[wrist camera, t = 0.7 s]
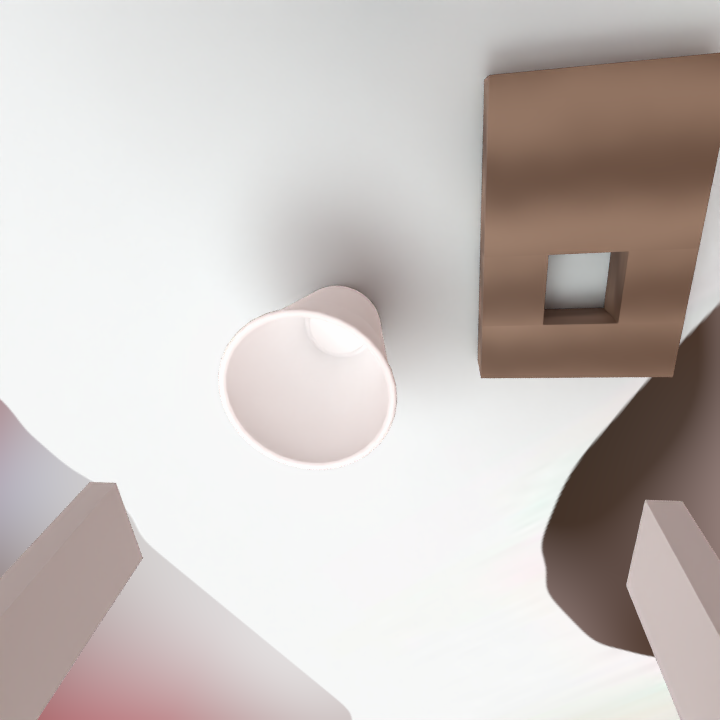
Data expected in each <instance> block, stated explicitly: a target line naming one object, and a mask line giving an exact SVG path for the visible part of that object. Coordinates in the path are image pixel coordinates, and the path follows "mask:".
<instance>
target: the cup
mask: <svg viewBox="0 0 720 720" xmlns="http://www.w3.org/2000/svg"><path fill="white" fill-rule="evenodd" d="M218 378H219V393H220V397H221V401H222V405H223V407H224V409H225V412H226V414H227V416H228V418H229V420H230V421H231V423H232V424H233V426H234V427H235V429H236V430H237V431H238V433H239V434H240V435H241V436H242V437H243V438H244V439H245V440H246V441H247V442H248V443H249V444H250V445H251V446H253V447H254V448H256V449H257V450H258V451H260V452H261V453H262V454H264V455H266V456H268V457H270V458H272V459H274V460H276V461H278V462H281V463H284V464H287V465H290V466H293V467H298V468H304V469H331V468H337V467H342V466H345V465H348V464H351V463H353V462H356V461H358V460H359V459H361V458H363V457H364V456H366V455H368V454H369V453H370V452H371V451H372V450H374V449H375V448H376V447H377V446H378V445H379V444H380V443H381V442H382V440H383V439H384V437H385V436H386V434H387V433H388V431H389V429H390V427H391V424H392V422H393V419H394V417H395V411H396V404H397V393H396V383H395V380H394V377H393V373H392V370H391V367H390V365H389V364H388V361H387V356H386V351H385V345H384V339H383V334H382V328H381V322H380V318H379V315H378V312H377V310H376V308H375V306H374V305H373V304H372V303H371V301H370V300H369V299H368V298H367V297H366V296H364V295H363V294H362V293H360V292H358V291H357V290H355V289H352V288H349V287H345V286H328V287H324V288H321V289H319V290H317V291H315V292H313V293H311V294H309V295H307V296H306V297H304V298H302V299H300V300H298V301H296V302H294V303H293V304H291V305H289V306H287V307H285V308H283V309H281V310H277V311H273V312H269V313H266V314H264V315H262V316H260V317H258V318H256V319H254V320H252V321H250V322H249V323H247V324H246V325H245V326H244V327H243V328H241V329H240V330H239V331H238V332H237V333H236V334H235V336H234V337H233V338H232V339H231V341H230V342H229V343H228V345H227V347H226V349H225V352H224V354H223V356H222V358H221V363H220V368H219V373H218Z"/></svg>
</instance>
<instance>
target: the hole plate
mask: <svg viewBox="0 0 720 720" xmlns="http://www.w3.org/2000/svg"><path fill="white" fill-rule="evenodd" d="M719 147H720V53H712V54H702V55H692V56H681V57H671V58H661V59H651V60H640V61H630V62H620V63H609V64H599V65H589V66H578V67H568V68H558V69H547V70H537V71H527V72H516V73H506V74H496V75H489V76H488V77H487V78H486V79H485V80H484V114H483V156H482V198H481V240H480V282H479V324H478V364H479V370H480V375H481V378H580V377H673V373H674V368H675V363H676V358H677V353H678V348H679V343H680V339H681V334H682V329H683V324H684V319H685V314H686V309H687V304H688V299H689V294H690V290H691V285H692V280H693V275H694V270H695V265H696V260H697V255H698V250H699V245H700V240H701V236H702V231H703V226H704V221H705V216H706V211H707V206H708V201H709V196H710V191H711V186H712V182H713V177H714V172H715V167H716V162H717V157H718V152H719ZM602 252H611V257H610V264H609V272H608V280H607V287H606V295H605V302H604V308H577V309H544V305H545V292H546V280H547V268H548V255H555V254H579V253H602Z"/></svg>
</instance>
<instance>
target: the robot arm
mask: <svg viewBox="0 0 720 720" xmlns="http://www.w3.org/2000/svg"><path fill="white" fill-rule="evenodd" d="M142 559H143V557H142V555H141V552H140V549H139V546H138V543H137V541H136V538H135V535H134V532H133V529H132V527H131V524H130V521H129V518H128V515H127V513H126V510H125V507H124V504H123V502H122V499H121V496H120V493H119V490H118V488H117V485H116V483H101V482H89V484H88V485H87V486H86V487H85V488H84V489H83V490H82V491H81V492H80V493H79V494H78V495H77V496H76V497H75V499H74V500H73V501H72V502H71V503H70V504H69V505H68V506H67V507H66V508H65V509H64V510H63V511H62V512H61V513H60V515H59V516H58V517H57V518H56V519H55V520H54V521H53V522H52V523H51V524H50V525H49V526H48V527H47V528H46V530H45V531H44V532H43V533H42V534H41V535H40V536H39V537H38V538H37V539H36V540H35V541H34V542H33V543H32V545H31V546H30V547H29V548H28V549H27V550H26V551H25V552H24V553H23V554H22V555H21V556H20V558H18V560H17V561H16V562H15V563H14V564H13V565H12V566H11V567H10V568H9V569H8V570H7V571H6V572H5V574H4V575H3V576H2V577H1V578H0V720H37V719H38V717H39V716H40V714H41V713H42V711H43V710H44V708H45V707H46V705H47V704H48V702H49V701H50V699H51V698H52V696H53V695H54V693H55V692H56V690H57V689H58V687H59V685H60V684H61V682H62V681H63V679H64V678H65V676H66V675H67V673H68V672H69V670H70V669H71V667H72V666H73V664H74V663H75V661H76V660H77V658H78V656H79V655H80V653H81V652H82V650H83V649H84V647H85V646H86V644H87V643H88V641H89V640H90V638H91V637H92V635H93V634H94V632H95V630H96V629H97V627H98V626H99V624H100V623H101V621H102V620H103V618H104V617H105V615H106V614H107V612H108V611H109V609H110V608H111V606H112V605H113V603H114V602H115V600H116V598H117V597H118V595H119V594H120V592H121V591H122V589H123V588H124V586H125V585H126V583H127V582H128V580H129V579H130V577H131V576H132V574H133V572H134V571H135V569H136V568H137V566H138V565H139V563H140V562H141V560H142ZM626 586H627V589H628V591H629V594H630V596H631V598H632V601H633V603H634V606H635V608H636V611H637V613H638V616H639V618H640V621H641V623H642V625H643V628H644V631H645V633H646V636H647V638H648V640H649V643H650V645H651V648H652V650H653V653H654V655H655V658H656V660H657V663H658V665H659V668H660V670H661V673H662V675H663V677H664V680H665V682H666V685H667V687H668V690H669V692H670V695H671V697H672V700H673V702H674V705H675V707H676V710H677V712H678V715H679V717H680V719H681V720H720V560H719V559H718V557H717V555H716V554H715V552H714V551H713V549H712V547H711V546H710V544H709V543H708V541H707V540H706V538H705V537H704V535H703V533H702V532H701V530H700V529H699V527H698V526H697V524H696V522H695V521H694V519H693V518H692V516H691V515H690V513H689V511H688V510H687V508H686V507H685V505H684V503H683V502H682V501H660V500H645V504H644V508H643V513H642V518H641V522H640V526H639V531H638V535H637V540H636V544H635V548H634V553H633V558H632V562H631V566H630V571H629V575H628V580H627V584H626Z"/></svg>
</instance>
